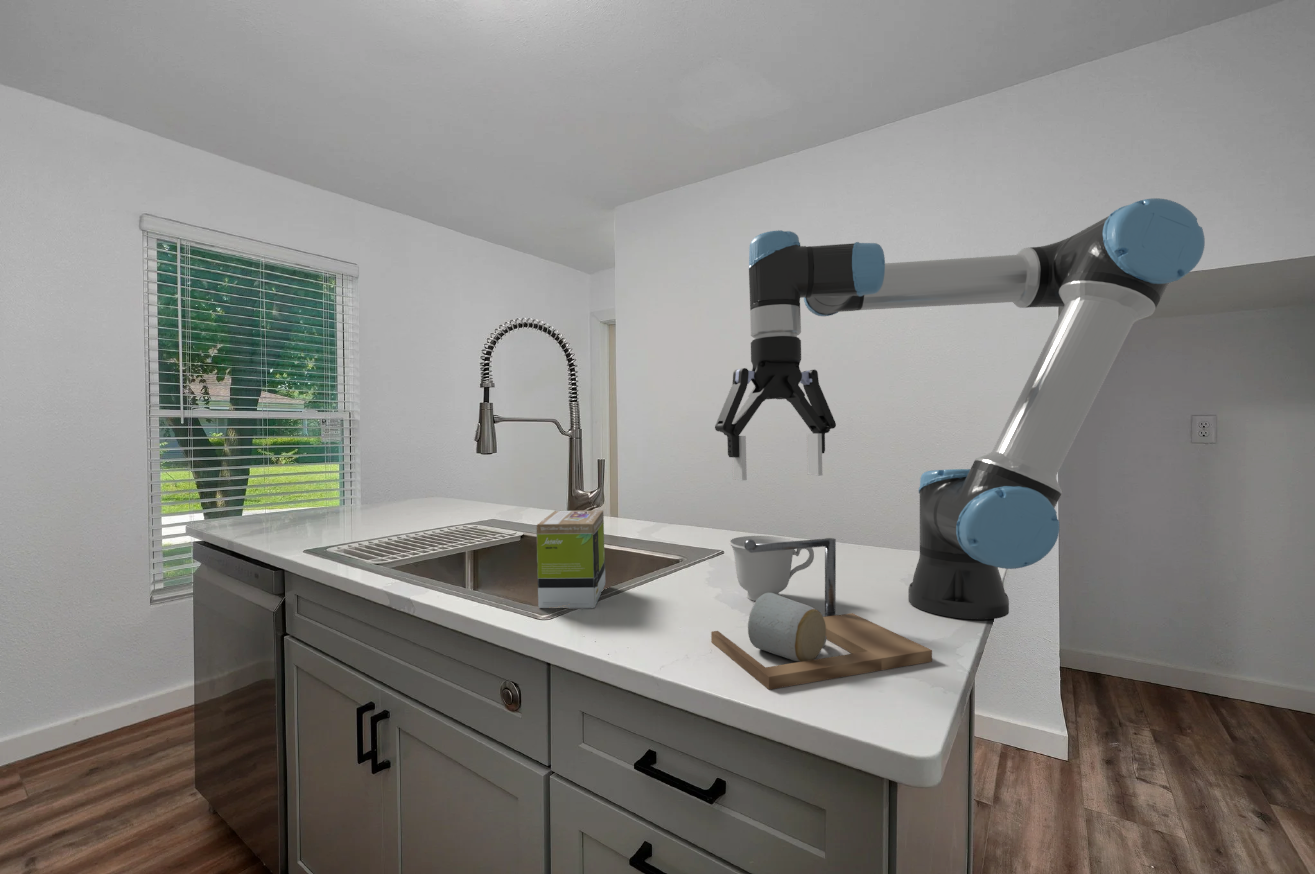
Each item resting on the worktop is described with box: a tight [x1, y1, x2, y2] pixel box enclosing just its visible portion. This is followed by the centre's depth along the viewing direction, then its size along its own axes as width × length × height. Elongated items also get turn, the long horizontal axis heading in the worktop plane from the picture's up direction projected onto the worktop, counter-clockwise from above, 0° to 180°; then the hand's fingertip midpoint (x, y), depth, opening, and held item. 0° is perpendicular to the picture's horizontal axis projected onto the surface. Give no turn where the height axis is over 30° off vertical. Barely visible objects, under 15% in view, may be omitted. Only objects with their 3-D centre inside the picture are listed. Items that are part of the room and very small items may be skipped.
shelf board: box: [710, 612, 933, 691], centre depth 79 cm, size 24×16×2 cm, turn 109°
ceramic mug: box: [747, 593, 827, 662], centre depth 79 cm, size 11×8×8 cm
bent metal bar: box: [744, 537, 837, 617], centre depth 89 cm, size 17×4×14 cm, turn 109°
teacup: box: [728, 535, 815, 602], centre depth 104 cm, size 12×15×10 cm
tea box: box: [536, 510, 606, 610], centre depth 106 cm, size 15×10×15 cm, turn 178°
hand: (778, 477), depth 89 cm, fingers open, 13 cm apart
